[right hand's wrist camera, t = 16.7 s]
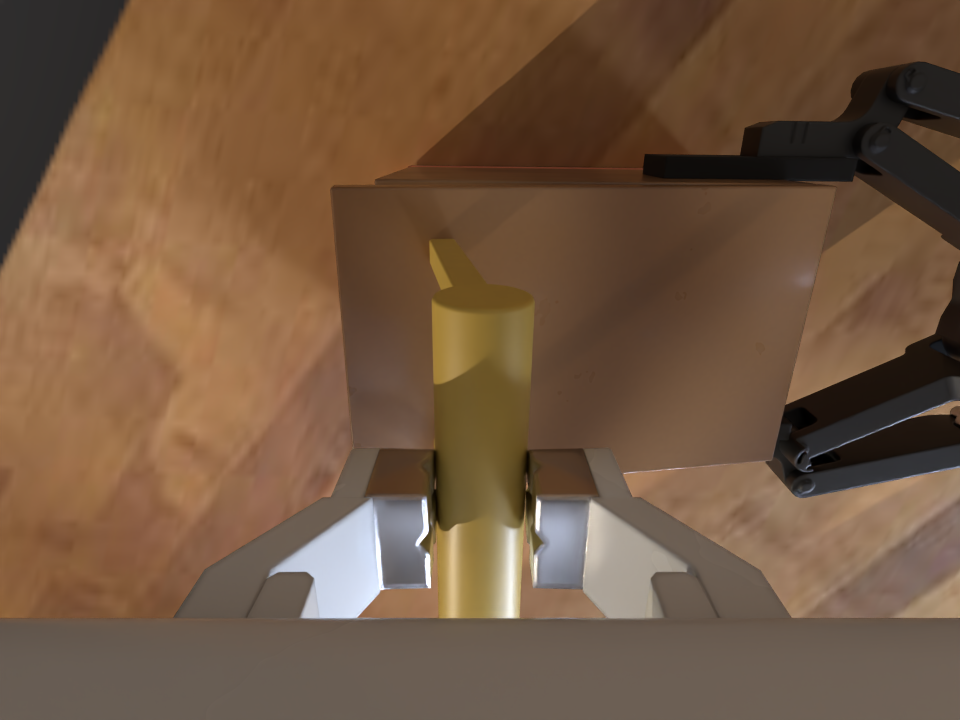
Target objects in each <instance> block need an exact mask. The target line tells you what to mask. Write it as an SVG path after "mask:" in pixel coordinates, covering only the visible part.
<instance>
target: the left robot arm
mask: <svg viewBox="0 0 960 720" xmlns="http://www.w3.org/2000/svg"><path fill="white" fill-rule="evenodd" d="M851 98H852V100H851V102H850V104H849V105H848V107H847V109H846V110H845V111H844V113H843V114H842V115H841V116H840V117H838V118H837V119H835V120H833V121H831V122H821V121H770V122H759V123H756V124H754V125H751V126H749V127H746V128H745V130H744V136H743V142H742V148H741V153H740V155H669V154H645V157H644V166H643V174H644V175H649V176H654V177H659V178H663V179H744V180H790V181H839V182H852V181H853V177H854V175H855V176H857V177H858V178H860V179H861V180H863V181H864V182H866V183H867V184H869V185H870V186H872V187H873V188H875V189H876V190H878V191H879V192H881V193H882V194H883V195H885V196H886V197H888V198H889V199H891V200H892V201H894V202H895V203H897V204H898V205H900V206H901V207H903V208H904V209H906V210H907V211H909V212H910V213H912V214H913V215H915V216H916V217H918V218H919V219H921V220H922V221H924V222H925V223H927V224H928V225H930V226H931V227H933V228H934V229H936V230H937V231H938V232H940V233H941V234H942V236H941V237H942V238H943V239H944V240H945V241H947V242H948V243H950V244H951V245H953V246H954V247H956V248H957V249H959V250H960V172H959V171H958V170H956V169H955V168H953V167H952V166H951V165H949V164H948V163H946V162H945V161H944V160H942V159H941V158H939V157H938V156H936V155H935V154H934V153H932V152H931V151H929V150H928V149H927V148H925V147H924V146H922V145H921V144H919V143H918V142H917V141H915V140H914V139H912V138H911V137H910V136H908V135H907V134H905V133H904V132H902V131H901V130H900V129H898V128H897V127H898V125H899V124H900V122H901V120H905V121H908V122H911V123H914V124H917V125H920V126H923V127H927V128H930V129H933V130H936V131H939V132H942V133H945V134H948V135H952V136H955V137H958V138H960V73H957V72H954V71H951V70H948V69H945V68H942V67H939V66H936V65H932V64H929V63H926V62H913V63H908V64H902V65H897V66H891V67H886V68H880V69H874V70H869V71H866V72H863V73H862V74H861V75H859V76H858V77H857V78H856V80H855V81H854V83H853V85H852V88H851ZM952 401H960V261H959V264H958V267H957V270H956V273H955V276H954V279H953V292H952V299H951V301H950V303H949V304H948V306H947V308H946V309H945V311H944V313H943V314H942V316H941V318H940V321H939V324H938V327H937V330H936V333H935V334H934V335H932V336H929V337H927V338H925V339H922V340H920V341H918V342H915V343H913V344H911V345H909V346H907V347H906V349H905V354H904V355H902V356H900V357H898V358H895V359H893V360H891V361H888V362H886V363H884V364H881V365H879V366H876V367H874V368H872V369H869V370H867V371H865V372H862V373H860V374H858V375H855V376H853V377H851V378H848V379H846V380H844V381H841V382H839V383H836V384H834V385H832V386H829V387H827V388H825V389H822V390H820V391H818V392H815V393H813V394H811V395H808V396H806V397H803V398H801V399H799V400H796V401H794V402H792V403H789V404H787V405H785V408H784V412H783V416H782V420H781V425H780V429H779V433H778V437H777V441H776V446H775V450H774V454H773V458H772V460H771V461H765V462H766V464H767V465H768V466H769V467H770V468H771V469H772V471H773V472H774V473H775V474H776V475H777V476H778V477H779V479H780V480H781V481H782V482H783V483H784V484H785V485H786V487H787V488H788V489H789V490H790V491H791V492H792V493H793V494H794V495H795V496H796V497H799V498H806V497H811V496H817V495H822V494H827V493H832V492H837V491H842V490H847V489H852V488H858V487H863V486H868V485H873V484H878V483H883V482H888V481H893V480H898V479H904V478H909V477H914V476H919V475H924V474H929V473H934V472H939V471H945V470H950V469H955V468H960V406H956V407H954V408H952V409H951V411H950V415H927V416H921V417H916V418H912V417H914V416H917V415H919V414H922V413H924V412H927V411H929V410H931V409H934V408H936V407H939V406H941V405H944V404H946V403H949V402H952ZM909 418H911V419H909Z"/></svg>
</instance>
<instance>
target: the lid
mask: <svg viewBox="0 0 960 720" xmlns="http://www.w3.org/2000/svg"><path fill="white" fill-rule="evenodd" d="M836 190H837V187H835V186H829V185H819V184H712V185H334V186H332V187H331V189H330V192H331V204H332V216H333V228H334V239H335V251H336V263H337V274H338V286H339V298H340V309H341V321H342V333H343V345H344V356H345V368H346V380H347V391H348V403H349V415H350V426H351V438H352V449H354V448H380V449H382V448H401V449H435V465H436V478H435V487H434V488H435V489H436V496H437V564H438V609H439V618H519V615H520V594H521V574H522V553H523V533H524V513H525V492H526V482H528V480H527V452H528V450H532V449H573V448H583V449H584V448H607V447H608V448H610V449H611V450H612V452H613V454H614V457H615V459H616V461H617V463H618V466H619V468H620V470H621V472H622V474H627V473H638V472H649V471H660V470H672V469H683V468H694V467H705V466H717V465H728V464H739V463H750V462H762V461H771V460H772V458H773V454H774V450H775V446H776V441H777V437H778V433H779V429H780V425H781V420H782V416H783V412H784V408H785V404H786V399H787V395H788V391H789V387H790V383H791V378H792V374H793V370H794V366H795V362H796V358H797V353H798V349H799V345H800V341H801V337H802V332H803V328H804V324H805V320H806V316H807V311H808V307H809V303H810V299H811V295H812V290H813V286H814V282H815V278H816V274H817V269H818V265H819V261H820V257H821V253H822V249H823V244H824V240H825V236H826V232H827V228H828V223H829V219H830V215H831V211H832V207H833V202H834V198H835V194H836Z"/></svg>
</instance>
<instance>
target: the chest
mask: <svg viewBox="0 0 960 720" xmlns="http://www.w3.org/2000/svg"><path fill="white" fill-rule="evenodd" d="M712 184H813V183H805V182H797V181H790V180H744V179H663V178H659V177H654V176H649V175H644V174H643V168H585V167H499V166H413V165H412V166H409V167H408V168H406V169H403V170H400V171H397V172H394V173H392V174H389V175H386V176H383V177H381V178H378V179H375V185H712Z"/></svg>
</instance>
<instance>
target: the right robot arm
mask: <svg viewBox="0 0 960 720" xmlns="http://www.w3.org/2000/svg"><path fill="white" fill-rule="evenodd" d="M435 478H436V465H435V449H401V448H382V449H380V448H354V449H352V450H351V451H350V454H349V456H348V458H347V461H346V463H345V465H344V468H343V470H342V472H341V475H340V477H339V479H338V482H337V484H336V486H335V489H334V491H333V493H332V496H331V497H328V498H321V499H320V500H318V501H316V502H315V503H313V504H311V505H310V506H308V507H306V508H305V509H303V510H302V511H300V512H298V513H297V514H295V515H293V516H292V517H290V518H288V519H287V520H285V521H283V522H282V523H280V524H279V525H277V526H275V527H274V528H272V529H270V530H269V531H267V532H265V533H264V534H262V535H261V536H259V537H257V538H256V539H254V540H252V541H251V542H249V543H247V544H246V545H244V546H243V547H241V548H239V549H238V550H236V551H234V552H233V553H231V554H229V555H228V556H226V557H225V558H223V559H221V560H220V561H218V562H216V563H215V564H213V565H211V566H210V567H208V568H206V569H205V570H204V571H203V573H202V575H201V576H200V578H199V579H198V581H197V582H196V584H195V585H194V587H193V588H192V590H191V591H190V593H189V594H188V596H187V597H186V599H185V601H184V602H183V604H182V605H181V607H180V608H179V610H178V611H177V613H176V614H175V616H174V617H173V618H0V720H960V618H791V616H790V615H789V613H788V612H787V610H786V609H785V607H784V606H783V604H782V603H781V601H780V600H779V598H778V596H777V595H776V593H775V592H774V590H773V589H772V587H771V586H770V584H769V583H768V581H767V580H766V578H765V577H764V575H763V574H762V572H761V571H760V570H759V569H757V568H756V567H754V566H752V565H751V564H749V563H747V562H746V561H744V560H742V559H741V558H739V557H738V556H736V555H734V554H733V553H731V552H729V551H728V550H726V549H724V548H723V547H721V546H719V545H718V544H716V543H715V542H713V541H711V540H710V539H708V538H706V537H705V536H703V535H701V534H700V533H698V532H696V531H695V530H693V529H692V528H690V527H688V526H687V525H685V524H683V523H682V522H680V521H678V520H677V519H675V518H673V517H672V516H670V515H669V514H667V513H665V512H664V511H662V510H660V509H659V508H657V507H655V506H654V505H652V504H650V503H649V502H647V501H646V500H644V499H642V498H635V497H632V495H631V493H630V490H629V488H628V486H627V484H626V481H625V479H624V477H623V475H622V472H621V470H620V468H619V466H618V463H617V461H616V459H615V457H614V454H613V452H612V450H611V449H610V448H608V447H607V448H584V449H583V448H573V449H532V450H528V452H527V480H528V487H529V488H528V489H527V490H526V496H525V523H526V535H527V543H529V544H530V556H529V561H530V569H531V576H532V584H533V588H555V589H583V592H584V593H585V594H586V595H587V597H588V598H589V599H590V600H591V601H592V602H593V603H594V604H595V605H596V606H597V608H598V609H599V610H600V611H601V612H602V613H603V614H604V615H605V616H606V617H607V618H357V617H358V616H359V615H360V614H361V613H362V612H363V610H364V609H365V608H366V607H367V606H368V605H369V604H370V603H371V602H372V601H373V599H374V598H375V597H376V596H377V595H378V594H379V593H380V589H407V588H430V585H431V577H432V569H433V560H434V558H433V544H434V543H435V542H436V532H437V496H436V489H435V488H434V487H435Z"/></svg>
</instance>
